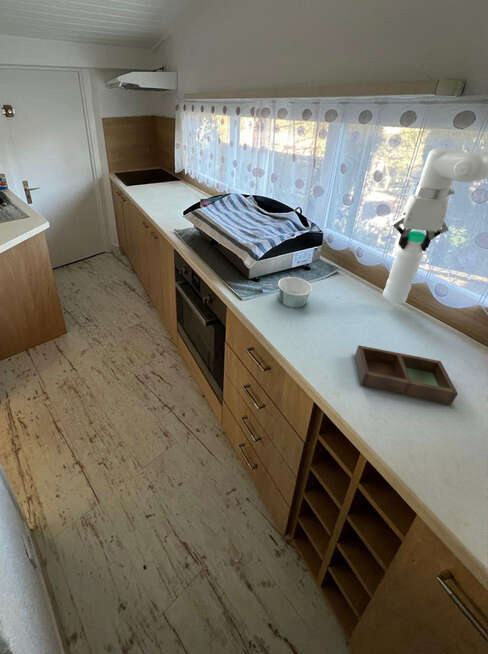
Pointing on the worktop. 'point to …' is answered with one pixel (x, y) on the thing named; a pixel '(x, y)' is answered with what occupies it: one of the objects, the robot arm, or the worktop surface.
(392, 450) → the worktop surface
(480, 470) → the worktop surface
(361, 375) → the tray
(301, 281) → the food container
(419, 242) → the water bottle
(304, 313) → the worktop surface
